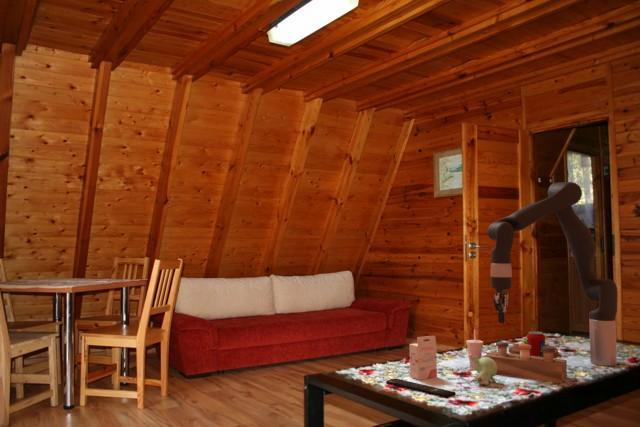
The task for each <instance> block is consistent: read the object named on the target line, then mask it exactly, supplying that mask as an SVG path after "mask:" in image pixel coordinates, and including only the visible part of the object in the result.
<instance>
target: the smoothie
mask: <svg viewBox="0 0 640 427" xmlns="http://www.w3.org/2000/svg"><path fill="white" fill-rule="evenodd" d="M476 333H477V330H476V329H473V339H468V340H466V342H465V343H466V348H467V353H468V355H469V354H470V353H472V354H473V356H476V357H477V359H478V360H479V359H480V358H482V353H483V352H482V351H483V345H484V341H482V340H480V339H477V338H476V336H477V335H476ZM468 361H469V366H470V368H474V367H476V362H475V361H474V362H473V361H472V360H471V358H470V357H469V356H468Z"/></svg>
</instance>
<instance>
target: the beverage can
mask: <svg viewBox="0 0 640 427" xmlns="http://www.w3.org/2000/svg"><path fill="white" fill-rule="evenodd" d="M544 335H545V334H544V332H542V331H536V330H535V331H532V330H531V331H528V333H527V335H526V336H527V337H526V339H527V344H528V345H531V349H529V350H530V356H537V357H544V356H543V351H542V348H541V347H545V345H546V342H545V341H546V339H545V336H544Z"/></svg>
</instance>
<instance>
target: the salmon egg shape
mask: <svg viewBox="0 0 640 427" xmlns="http://www.w3.org/2000/svg"><path fill="white" fill-rule="evenodd" d="M518 344H519V345H518V348H520V359H530V350H529V349H531V345H528V344H525V343H518Z"/></svg>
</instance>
